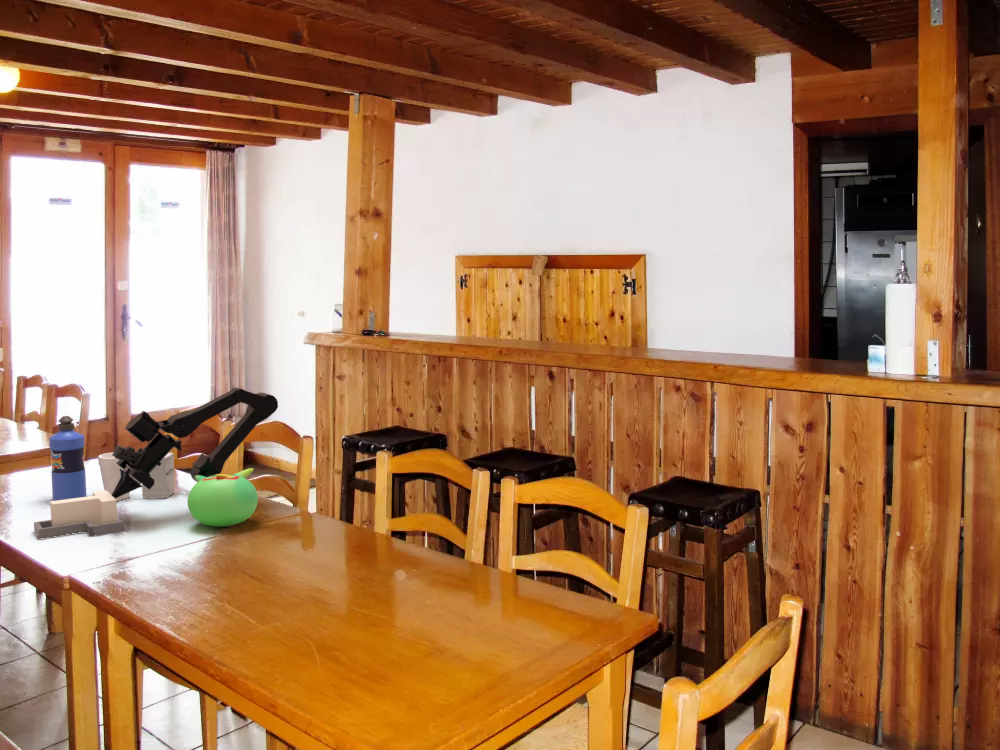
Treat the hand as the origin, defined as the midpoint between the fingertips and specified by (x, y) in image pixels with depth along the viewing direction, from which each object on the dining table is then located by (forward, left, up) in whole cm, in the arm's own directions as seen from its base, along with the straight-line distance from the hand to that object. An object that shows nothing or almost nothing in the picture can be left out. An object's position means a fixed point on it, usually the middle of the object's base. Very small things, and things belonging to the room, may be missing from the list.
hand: (112, 497), depth 236 cm
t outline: (+5, +7, -7) cm, 11 cm away
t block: (+5, +6, -7) cm, 10 cm away
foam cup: (+18, -23, -7) cm, 30 cm away
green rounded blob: (-28, -9, -7) cm, 31 cm away
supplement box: (+8, -29, -8) cm, 31 cm away
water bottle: (+30, -17, -7) cm, 35 cm away
